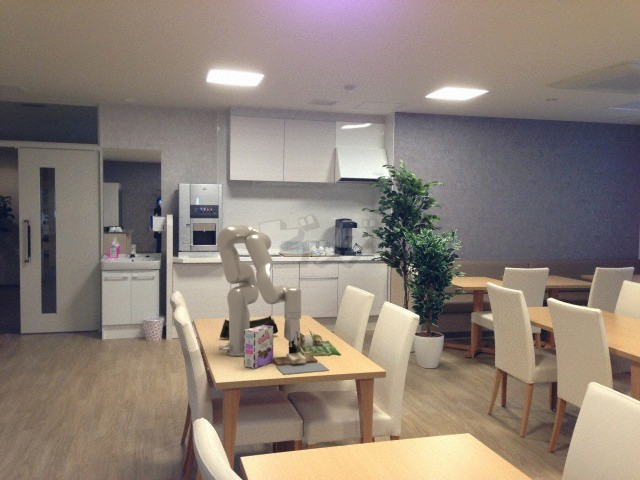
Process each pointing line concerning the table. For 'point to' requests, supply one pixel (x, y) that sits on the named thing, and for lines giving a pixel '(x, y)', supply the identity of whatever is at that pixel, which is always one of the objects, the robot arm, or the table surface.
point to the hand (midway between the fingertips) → (292, 355)
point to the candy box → (258, 346)
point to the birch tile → (296, 358)
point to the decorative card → (315, 346)
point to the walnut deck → (284, 361)
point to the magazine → (253, 324)
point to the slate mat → (301, 368)
